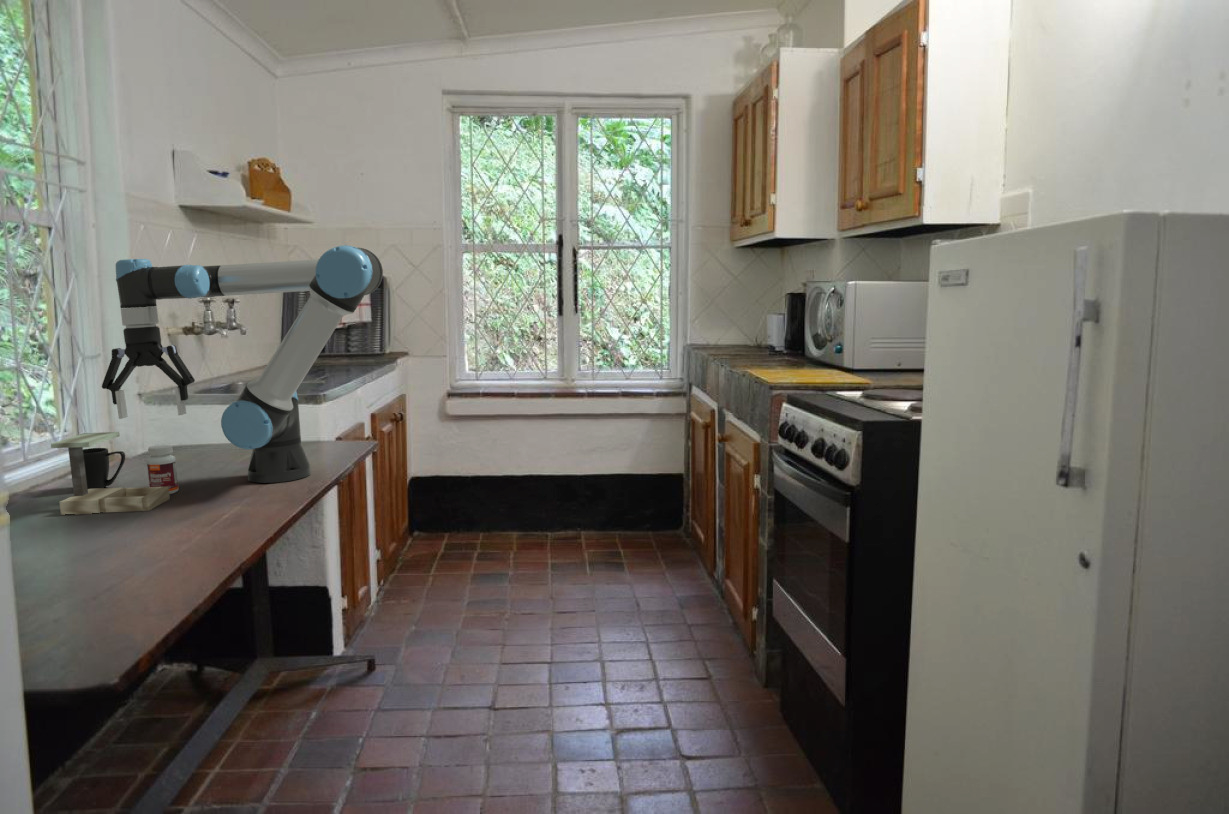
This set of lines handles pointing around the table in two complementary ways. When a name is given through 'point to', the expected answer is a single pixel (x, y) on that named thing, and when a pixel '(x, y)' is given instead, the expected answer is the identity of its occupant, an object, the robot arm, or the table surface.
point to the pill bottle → (162, 468)
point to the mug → (99, 467)
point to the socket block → (103, 497)
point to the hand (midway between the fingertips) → (152, 416)
